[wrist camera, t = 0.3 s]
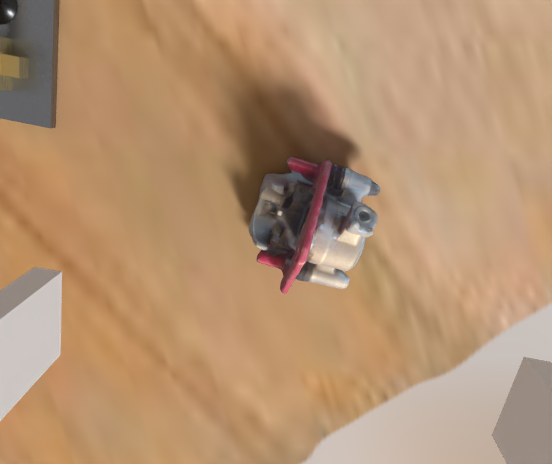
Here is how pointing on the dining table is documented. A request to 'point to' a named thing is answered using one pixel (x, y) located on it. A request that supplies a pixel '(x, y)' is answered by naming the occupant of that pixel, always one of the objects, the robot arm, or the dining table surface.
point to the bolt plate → (32, 60)
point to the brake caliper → (313, 222)
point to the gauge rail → (10, 65)
